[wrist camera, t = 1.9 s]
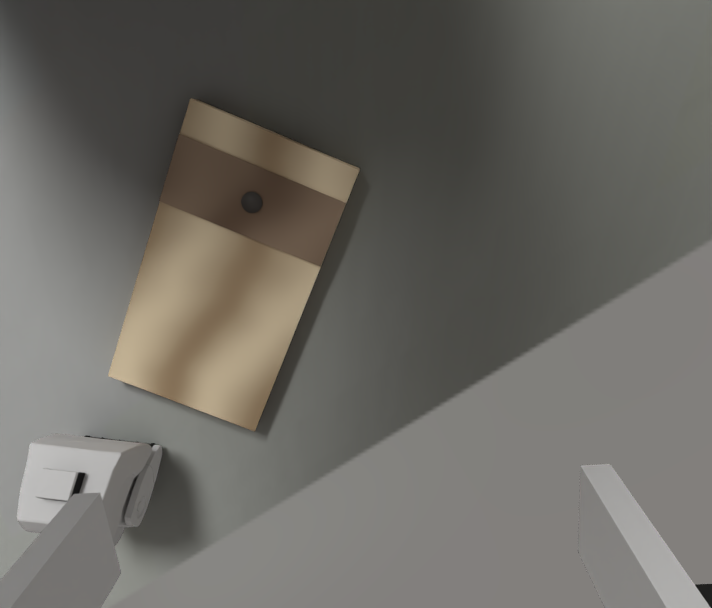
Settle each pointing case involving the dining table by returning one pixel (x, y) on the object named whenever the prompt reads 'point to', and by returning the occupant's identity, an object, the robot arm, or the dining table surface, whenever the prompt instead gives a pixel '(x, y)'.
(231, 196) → the plywood panel
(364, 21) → the dining table surface
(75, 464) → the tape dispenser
